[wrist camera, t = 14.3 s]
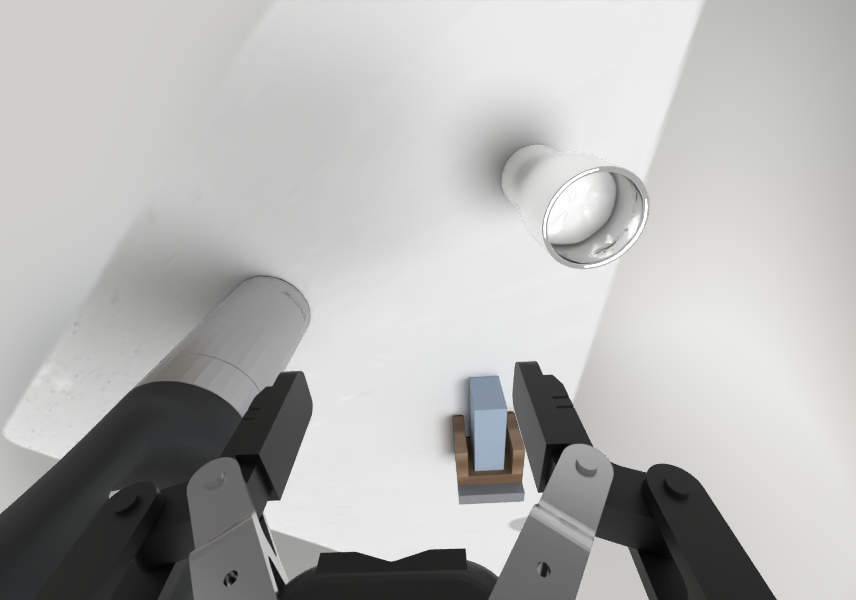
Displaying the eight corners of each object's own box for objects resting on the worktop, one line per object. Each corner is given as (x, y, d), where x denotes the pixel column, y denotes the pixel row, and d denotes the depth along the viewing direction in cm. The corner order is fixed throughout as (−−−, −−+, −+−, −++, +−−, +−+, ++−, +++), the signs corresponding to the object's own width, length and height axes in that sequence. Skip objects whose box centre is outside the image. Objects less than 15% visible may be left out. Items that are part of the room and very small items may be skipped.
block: (453, 416, 51) (456, 453, 46) (514, 413, 51) (525, 449, 45) (454, 447, 54) (458, 485, 49) (512, 444, 54) (521, 482, 49)
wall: (454, 446, 55) (458, 496, 48) (511, 442, 54) (524, 492, 47) (455, 454, 56) (459, 504, 49) (511, 451, 55) (523, 501, 48)
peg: (469, 376, 48) (474, 410, 43) (498, 375, 48) (507, 408, 42) (470, 435, 54) (474, 471, 48) (496, 434, 54) (503, 469, 48)
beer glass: (555, 214, 36) (627, 276, 23) (490, 208, 36) (527, 267, 23) (575, 143, 33) (674, 168, 20) (504, 135, 33) (556, 155, 20)
